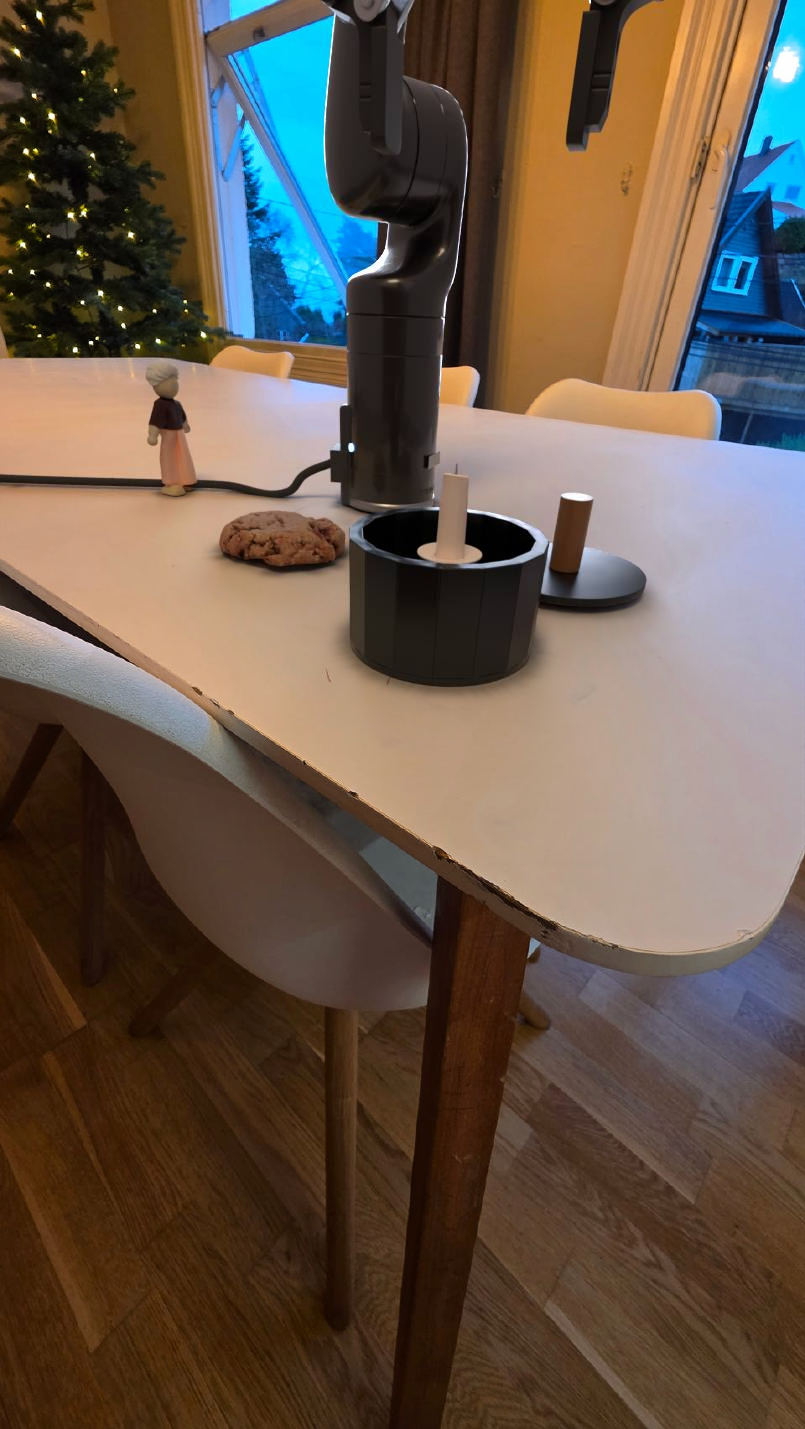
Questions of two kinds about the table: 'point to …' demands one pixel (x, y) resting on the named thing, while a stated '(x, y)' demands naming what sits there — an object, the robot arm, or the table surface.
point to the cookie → (282, 538)
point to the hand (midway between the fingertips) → (476, 150)
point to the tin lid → (585, 563)
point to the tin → (444, 597)
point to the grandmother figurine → (170, 429)
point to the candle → (452, 525)
